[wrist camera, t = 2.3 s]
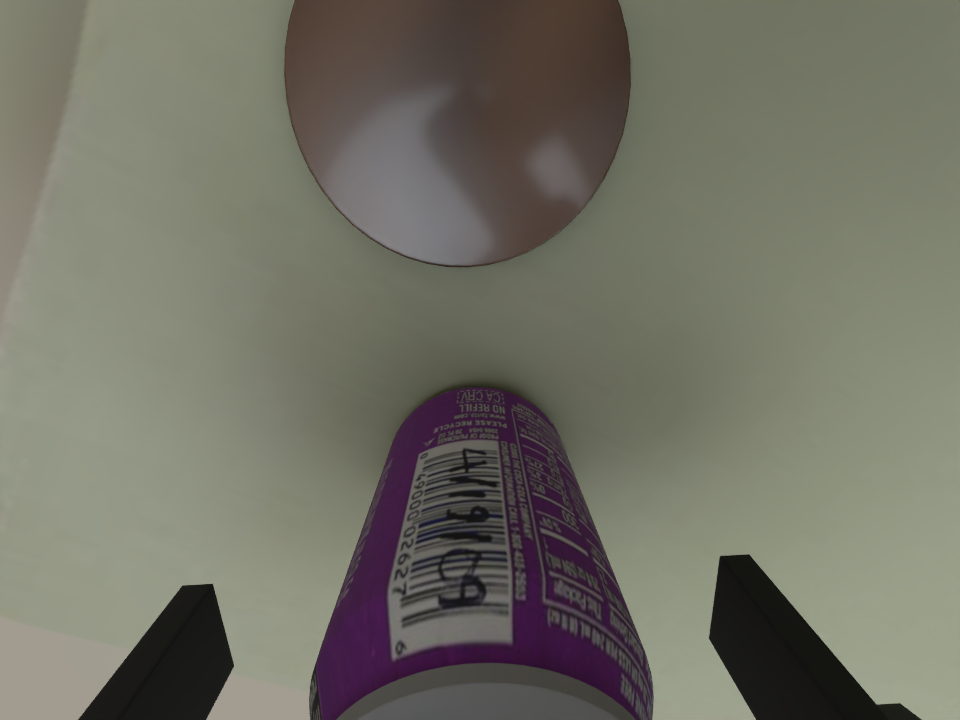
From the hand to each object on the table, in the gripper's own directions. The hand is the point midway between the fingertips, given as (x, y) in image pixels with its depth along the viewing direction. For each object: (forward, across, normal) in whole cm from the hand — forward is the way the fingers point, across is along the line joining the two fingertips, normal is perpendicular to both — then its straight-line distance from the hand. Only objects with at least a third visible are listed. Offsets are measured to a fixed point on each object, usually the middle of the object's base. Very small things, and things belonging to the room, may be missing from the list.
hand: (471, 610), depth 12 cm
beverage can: (+8, 0, 0) cm, 8 cm away
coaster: (+7, 0, +14) cm, 16 cm away
